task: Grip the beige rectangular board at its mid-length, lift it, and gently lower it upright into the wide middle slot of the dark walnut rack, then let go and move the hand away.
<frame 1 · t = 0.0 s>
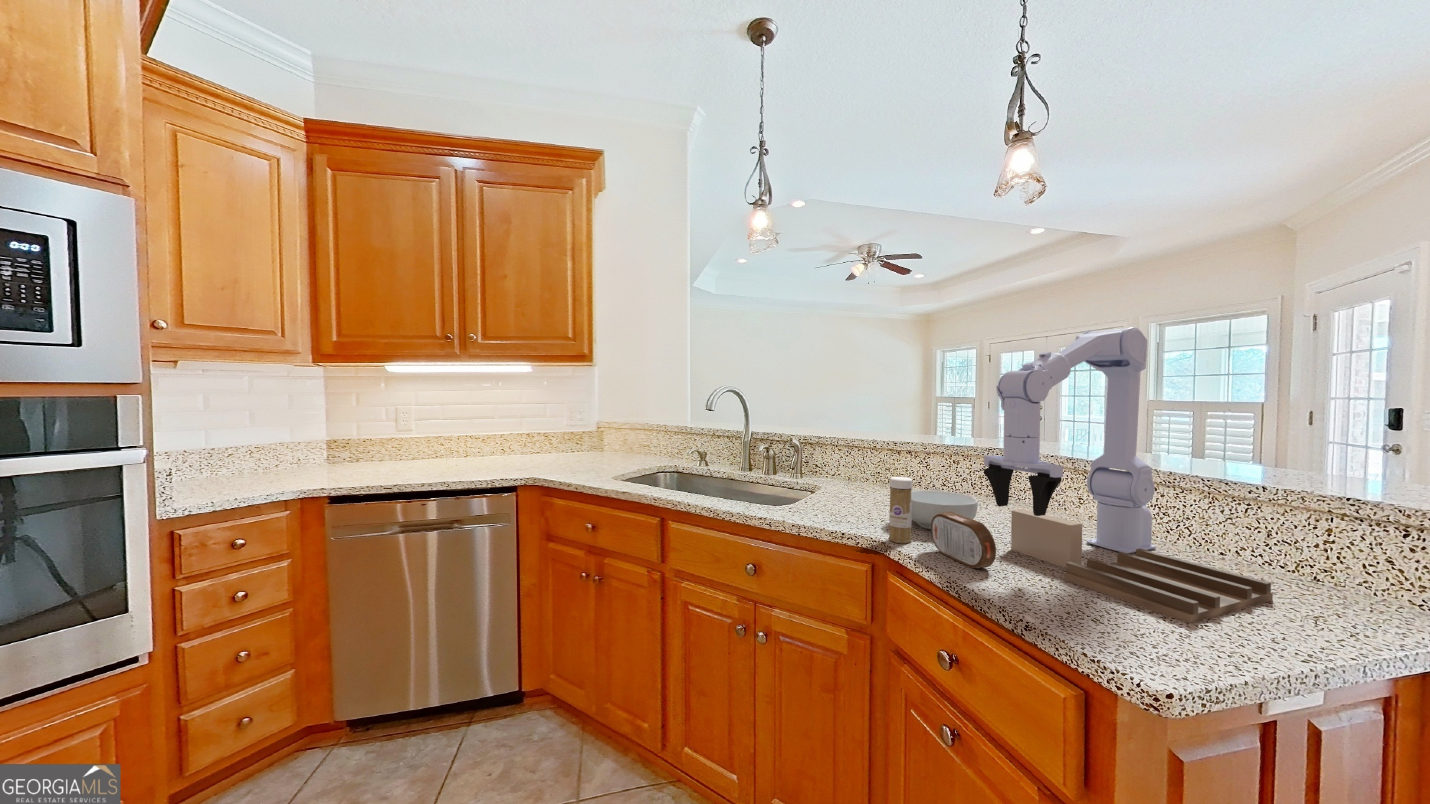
hand: (1020, 510, 97), 10 cm above the worktop, fingers open, 7 cm apart
cereal bowl: (937, 527, 124), on the worktop
tin: (960, 561, 100), on the worktop
rack: (1162, 589, 86), on the worktop
beige rectangular board: (1044, 558, 102), on the worktop
sprinkles bottle: (900, 541, 113), on the worktop
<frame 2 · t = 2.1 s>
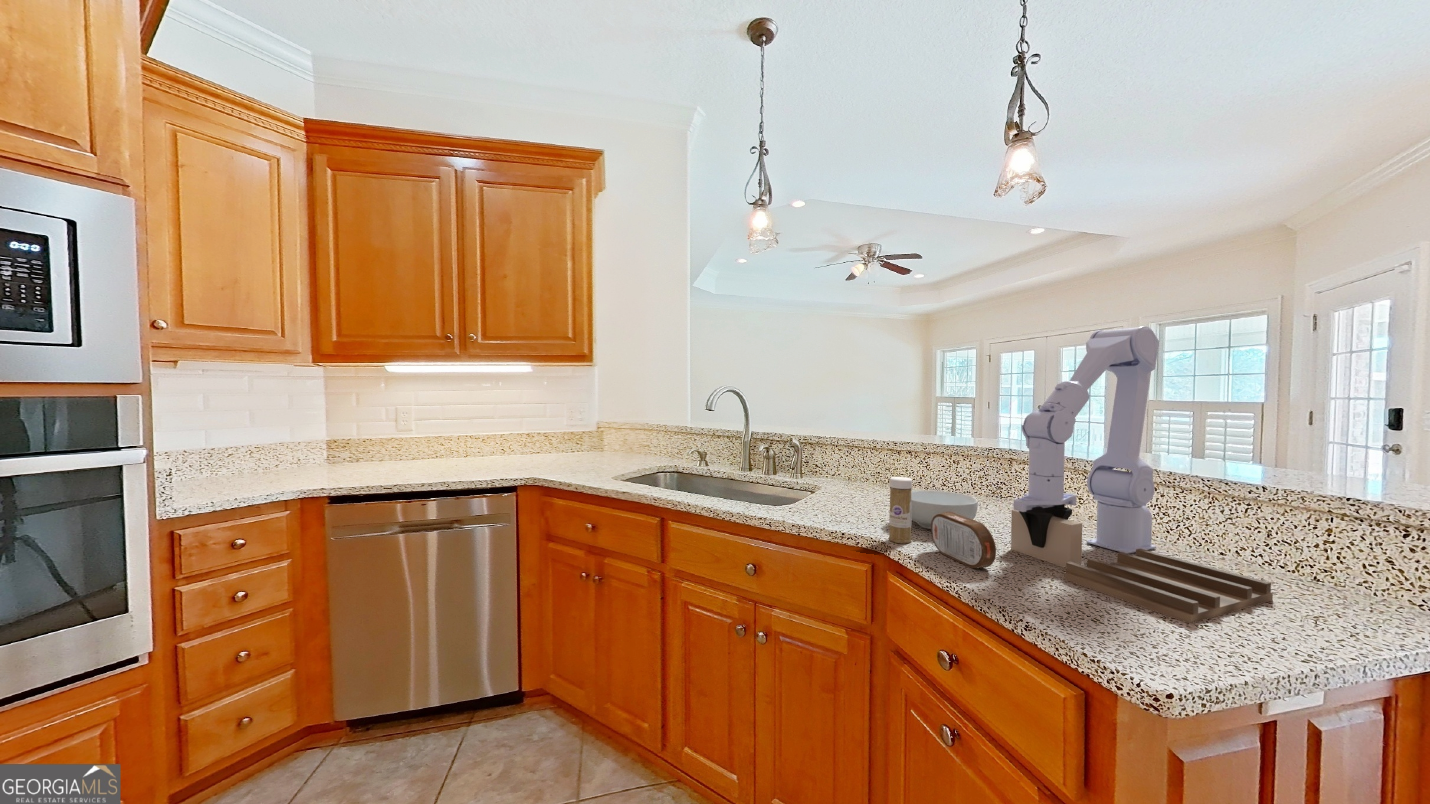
hand: (1044, 545, 102), 2 cm above the worktop, fingers closed on beige rectangular board, 3 cm apart
beige rectangular board: (1044, 557, 102), on the worktop, touching gripper
everything else where it was.
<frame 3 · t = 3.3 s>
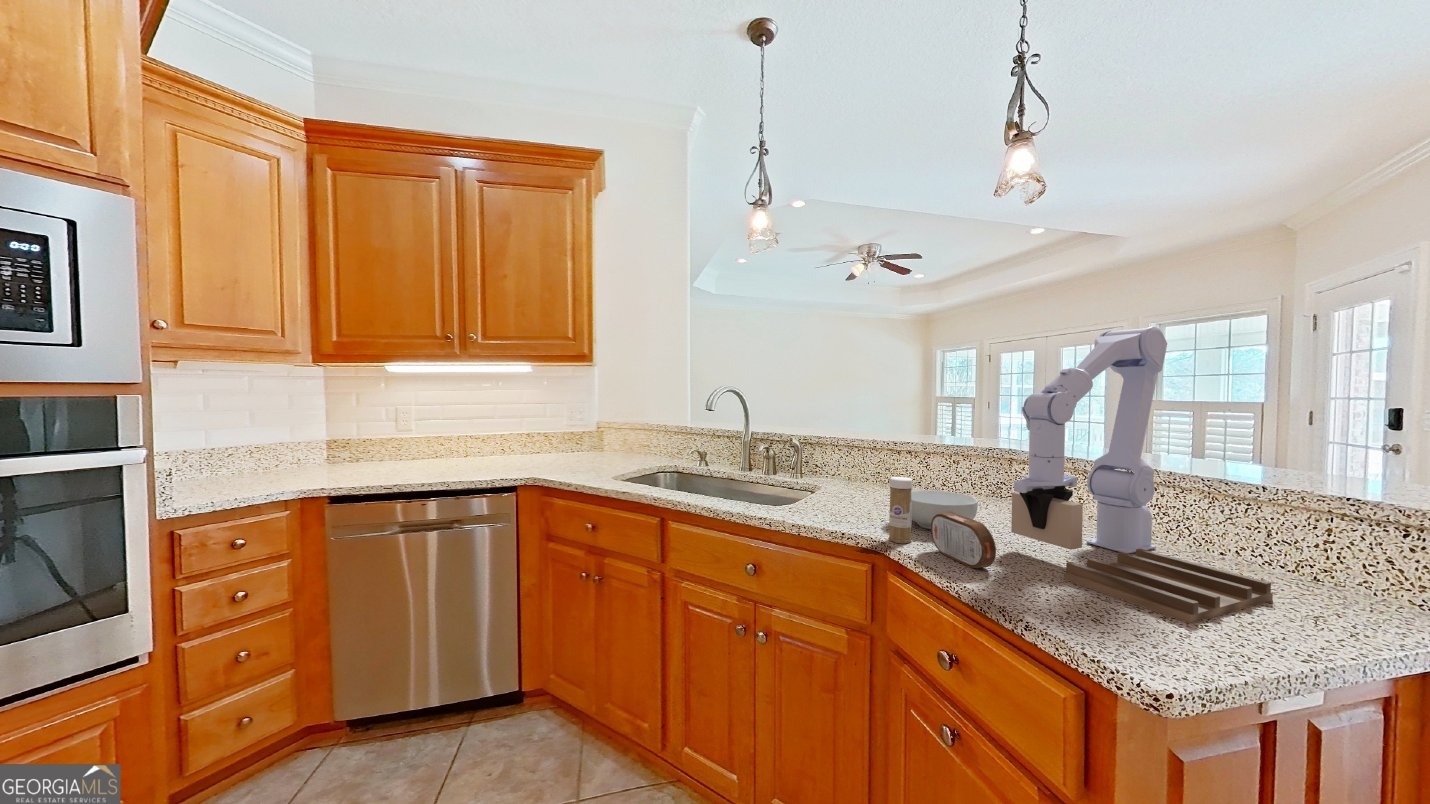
hand: (1045, 526, 101), 6 cm above the worktop, fingers closed on beige rectangular board, 3 cm apart
beige rectangular board: (1044, 539, 102), point 3 cm above the worktop, touching gripper
everything else where it was.
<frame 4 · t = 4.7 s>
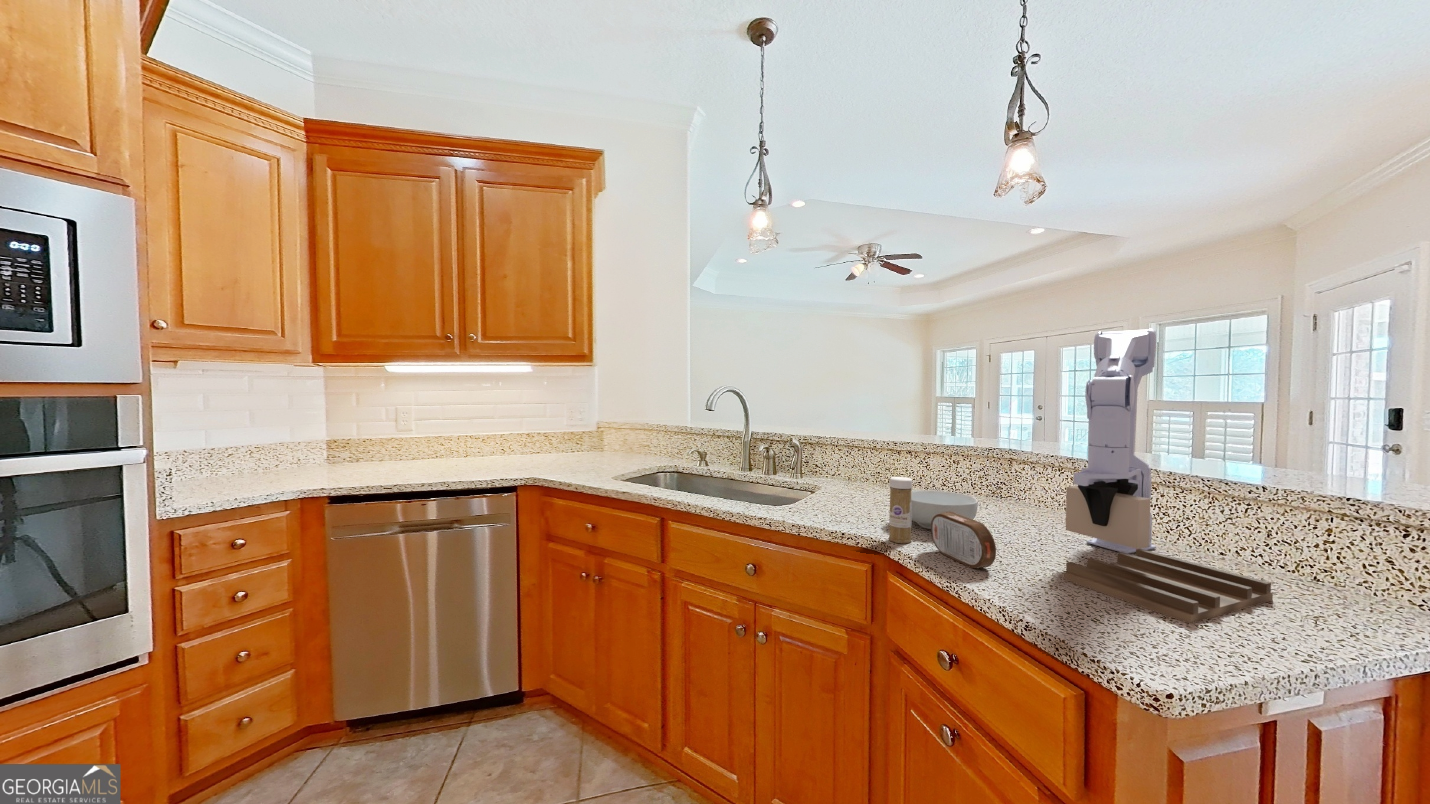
hand: (1106, 523, 93), 9 cm above the worktop, fingers closed on beige rectangular board, 3 cm apart
beige rectangular board: (1105, 538, 93), point 6 cm above the worktop, touching gripper
everything else where it was.
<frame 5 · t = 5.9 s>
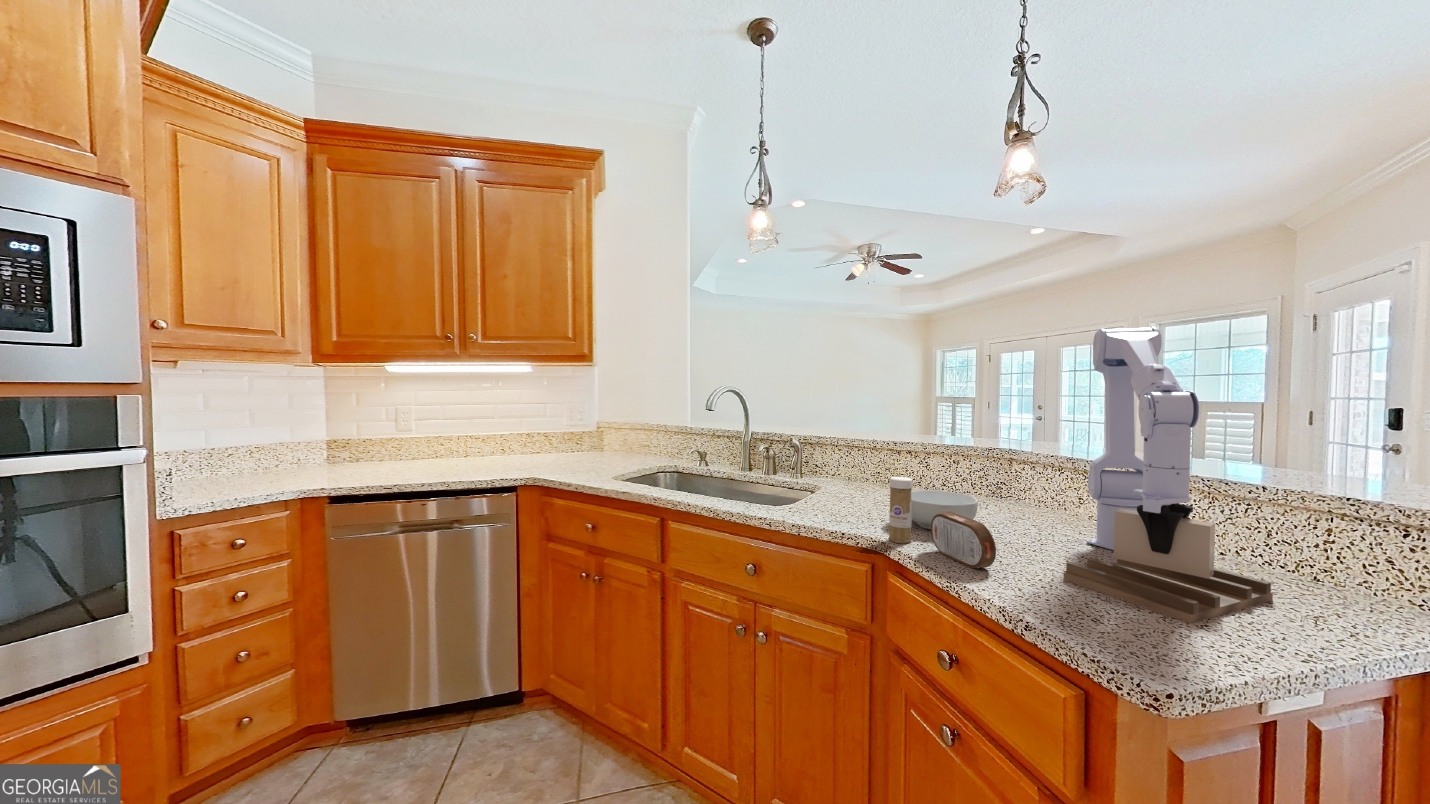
hand: (1163, 550, 86), 6 cm above the worktop, fingers closed on beige rectangular board, 3 cm apart
beige rectangular board: (1161, 565, 86), point 4 cm above the worktop, touching gripper
everything else where it was.
when the fingers open (4 cm above the worktop, at t = 7.0 s): beige rectangular board stays where it is, resting on rack.
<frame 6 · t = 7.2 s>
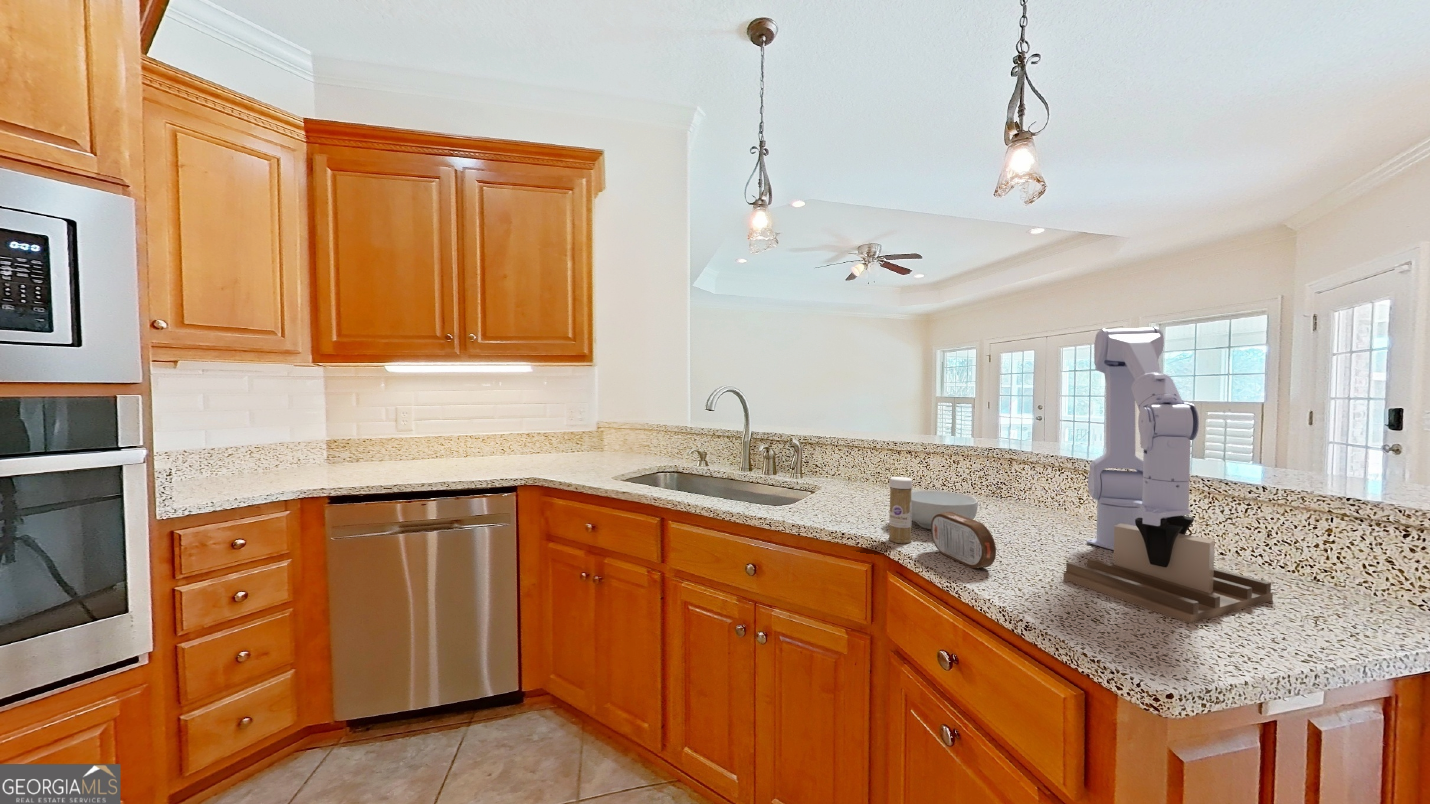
hand: (1163, 562, 86), 4 cm above the worktop, fingers open, 4 cm apart
beige rectangular board: (1160, 581, 86), point 1 cm above the worktop, touching rack
everything else where it was.
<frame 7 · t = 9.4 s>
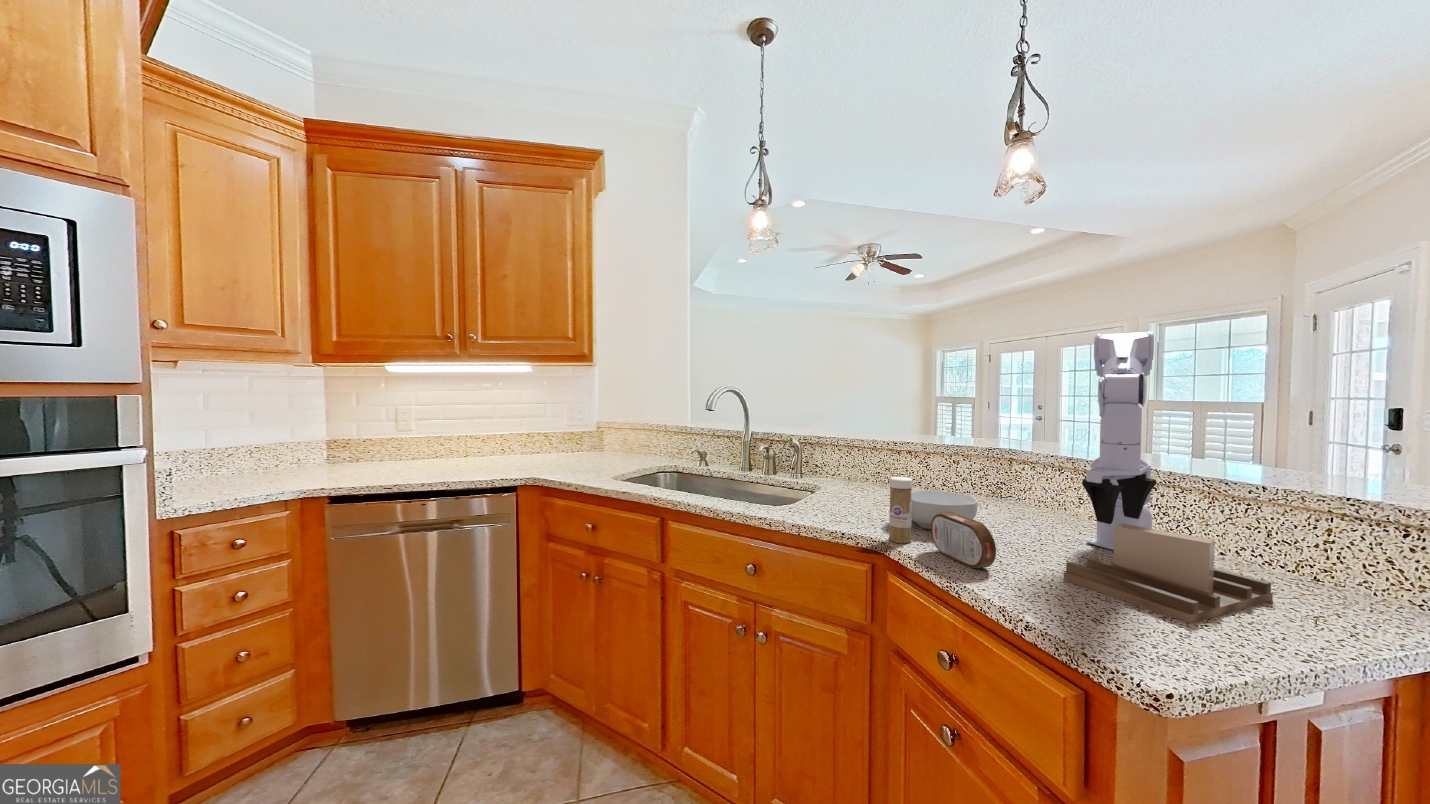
hand: (1118, 520, 93), 9 cm above the worktop, fingers open, 7 cm apart
nothing on the worktop moved.
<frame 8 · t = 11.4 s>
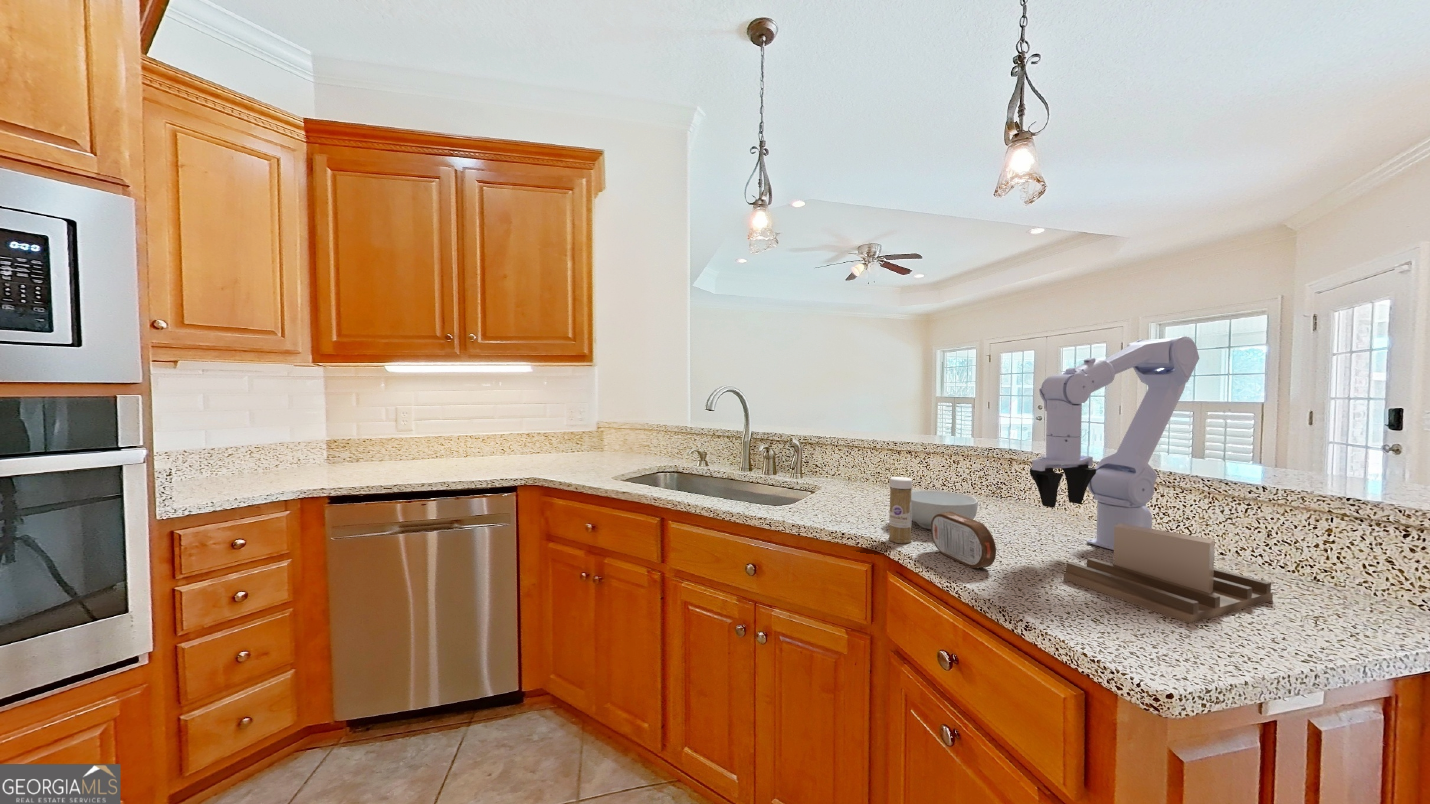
hand: (1062, 504, 104), 9 cm above the worktop, fingers open, 7 cm apart
nothing on the worktop moved.
at the end: beige rectangular board 0.2 cm off-centre on the rack, point 1.2 cm above the rack's base; beige rectangular board tilted 0°; the gripper is holding nothing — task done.
